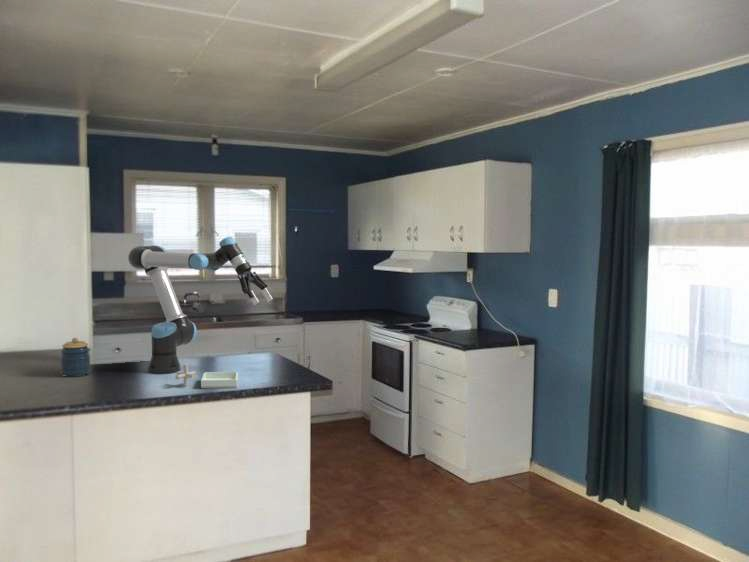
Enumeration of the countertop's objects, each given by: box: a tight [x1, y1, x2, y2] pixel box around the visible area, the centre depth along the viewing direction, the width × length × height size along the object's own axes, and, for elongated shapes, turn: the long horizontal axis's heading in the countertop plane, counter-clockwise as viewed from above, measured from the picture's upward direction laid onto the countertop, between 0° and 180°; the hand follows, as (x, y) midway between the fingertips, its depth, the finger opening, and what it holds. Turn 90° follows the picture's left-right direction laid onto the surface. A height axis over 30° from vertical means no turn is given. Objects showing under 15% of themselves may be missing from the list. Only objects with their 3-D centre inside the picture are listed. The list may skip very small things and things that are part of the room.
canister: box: [59, 337, 91, 376], centre depth 306 cm, size 13×13×18 cm
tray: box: [200, 371, 239, 389], centre depth 295 cm, size 16×16×4 cm
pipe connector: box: [175, 363, 196, 387], centre depth 290 cm, size 10×10×10 cm
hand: (263, 301), depth 312 cm, fingers open, 13 cm apart
